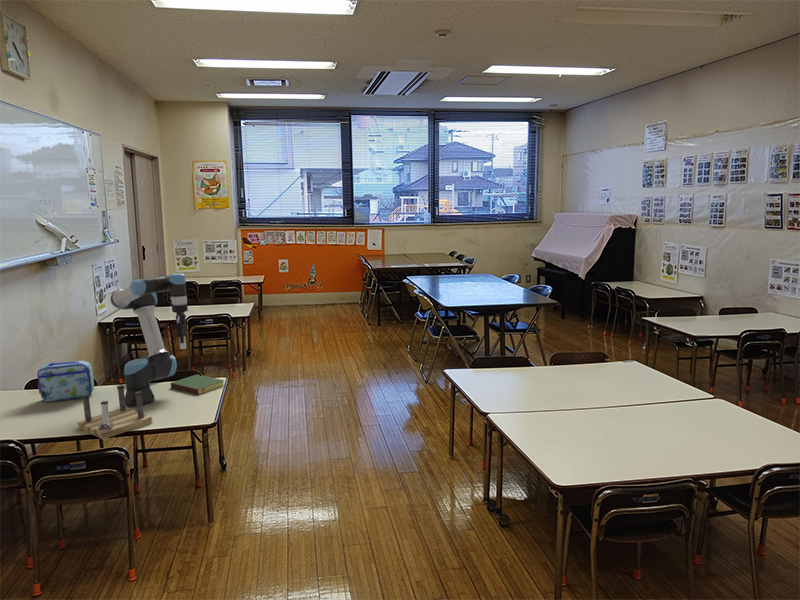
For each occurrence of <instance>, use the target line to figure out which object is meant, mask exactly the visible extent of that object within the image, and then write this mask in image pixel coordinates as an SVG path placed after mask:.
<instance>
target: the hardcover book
mask: <svg viewBox="0 0 800 600" xmlns="http://www.w3.org/2000/svg"><path fill="white" fill-rule="evenodd" d="M200 375H201V374H194V375H191V376H188V377H187V376H186V377H185V378H181V379H178V380H175V381H172V382H170V389H174V390H177V391H182V392H184V391H185V392H184V393H188V392H189V394H192V393H193V395H196V394H197V395H196V396H199V395H201V393H202V394H204V392H205V393H207V392H210V391H213V390H215V389H218V388H221V387H224V386H225V385H224V383H225V382H224V381H225V380H224V379H220V378H214V377H210V376H206V375H203V374H202V375H201V376H200Z"/></svg>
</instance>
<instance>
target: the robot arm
mask: <svg viewBox="0 0 800 600" xmlns="http://www.w3.org/2000/svg"><path fill="white" fill-rule="evenodd" d="M165 292H170V298H169V300H171V301H170V302H171V311H172V313H174V314H176V315H175V320H174V322H175V324H176V325H175V326H176V330H177V331H176V333H177V338H179V340H178V341H179V349H180V350H186V349H187V342H186V341H187V340H186V336H188V334H187V325H186V324H187V323H186V321H187V320H186V319H187V318H186V317H187V315H186V314H185V312H187V311H189V310H188V308H189V306H188V304H187V303H188V297H187V296H188V295H187V282H186V276H185V274H184V273H171V274H169V275H163V276H161V277H153V278H142V279H141V278H139V279H135V280H132V281H131V282H130V285H129V286H127V287H125V288H123V289H122V288H121V289H120V288H119V289H116V290H114V291H113V292H112V293H111V295H110V303H111V305H112V306H113V307H114V308H115V309H119V310H123V311H124V310H125V311H127V310H132V311H133V313H134V314H136V315H137V319H138V321H139V324H140V327H141V328H140V329H141V331H142V334H143V338H144V341H145V344H146V345H145V346H146V348H147V352H148V355H149V356H148V357H147V359H148V360H147V359H145V358H141V359H140V358H139V359H138V358H136V359H132V360H129V361H128V362H126V364H125V365H124V371H123V375H124V374H125V379H124V380H125V386H126V387H125V388H126V389H125V390H126V392H125V394H124V396H125V405H126V407H127V408H137V403H136V395H135V392H139V391H140V392H142V402H143V407H144V406H148V405H151V404H153V403H154V402H155V401H156V398H155V394H154V392H153V390H152V388H151V385H150V382H153V381H155V380H158V379H162V378H163V379H165V378H166V379H167V378H170V377H172V376H174V375H175V374H176V371H177V360H176V357H175V355H173V354H170V352H169V351H168V350H166V347H165V345H164V341H163V338H162V333H161V331H160V327H159V325H158V322H157V317H156V314H155V309H156V305H158V296H157V293H165ZM163 379H162V380H163Z"/></svg>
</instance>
